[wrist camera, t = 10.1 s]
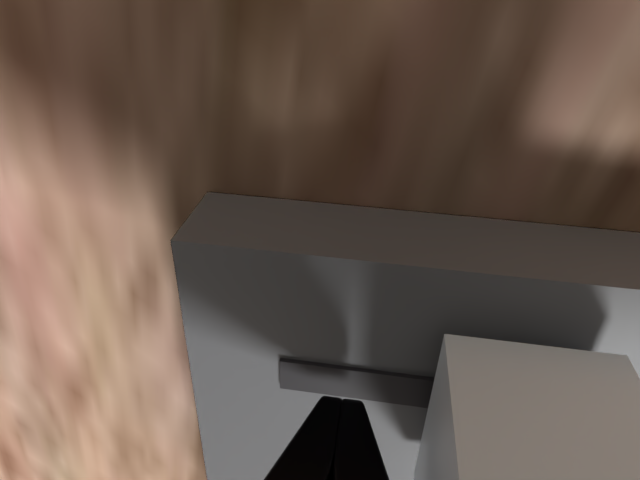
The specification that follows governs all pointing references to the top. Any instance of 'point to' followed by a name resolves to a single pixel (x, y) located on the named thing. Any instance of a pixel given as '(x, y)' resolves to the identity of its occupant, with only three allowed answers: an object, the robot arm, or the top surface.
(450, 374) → the white fader
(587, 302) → the console
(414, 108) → the top surface
